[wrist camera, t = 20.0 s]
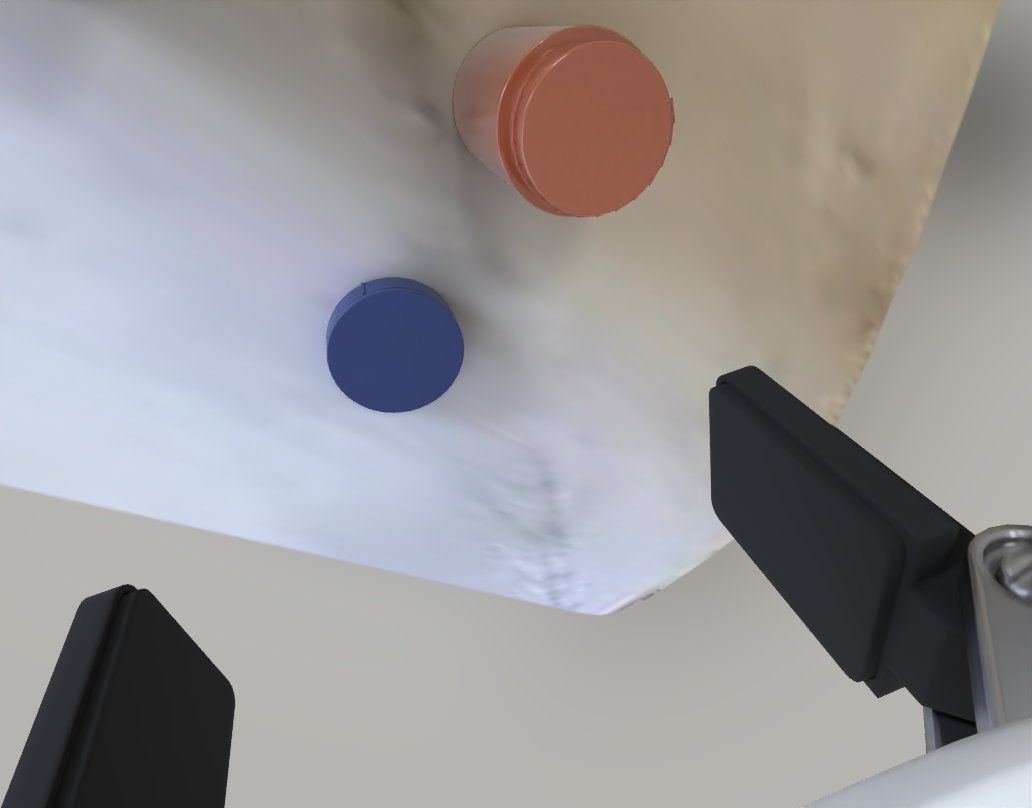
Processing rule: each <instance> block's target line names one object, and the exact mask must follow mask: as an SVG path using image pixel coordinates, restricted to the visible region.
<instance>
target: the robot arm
mask: <svg viewBox="0 0 1032 808" xmlns="http://www.w3.org/2000/svg"><path fill="white" fill-rule="evenodd" d="M709 419H710V463H711V500H712V505H713V509H714V511H715V513H716V515H717V517H718V518H719V520H720V521H721V522H722V524H723V525H724V526H725V527H726V529H727V530H728V531H729V532H730V533H731V535H732V536H733V537H734V538H735V540H736V541H737V542H738V543H739V544H740V545H741V547H742V548H743V549H744V550H745V552H746V553H747V554H748V555H749V557H750V558H751V559H752V560H753V561H754V563H755V564H756V565H757V566H758V568H759V569H760V570H761V571H762V572H763V574H764V575H765V576H766V577H767V579H768V580H769V581H770V582H771V583H772V585H773V586H774V587H775V588H776V590H777V591H778V592H779V593H780V594H781V596H782V597H783V598H784V599H785V600H786V602H787V603H788V604H789V605H790V607H791V608H792V609H793V610H794V611H795V613H796V614H797V615H798V616H799V618H800V619H801V620H802V621H803V622H804V624H805V625H806V626H807V627H808V628H809V630H810V631H811V632H812V633H813V635H814V636H815V637H816V638H817V640H818V641H819V642H820V643H821V645H822V646H823V647H824V648H825V649H826V651H827V652H828V653H829V654H830V656H831V657H832V658H833V659H834V660H835V662H836V663H837V664H838V665H839V667H840V668H841V669H842V670H843V671H844V672H845V674H846V675H847V676H848V677H849V678H851V679H852V680H853V681H856V682H861V681H864V682H865V684H866V685H867V686H868V687H869V688H870V690H871V691H872V692H873V693H874V694H875V695H876V697H877V698H880V697H882V696H884V695H887V694H889V693H891V692H894V691H896V690H898V689H901V688H903V687H906V689H908V691H909V692H910V693H911V694H912V695H913V696H914V697H915V699H916V700H917V701H918V702H919V703H920V704H921V705H922V706H923V711H924V725H925V739H926V753H927V754H924V755H922V756H920V757H917V758H915V759H912V760H910V761H908V762H905V763H903V764H901V765H898V766H896V767H893V768H891V769H889V770H886V771H884V772H882V773H879V774H877V775H874V776H872V777H870V778H867V779H865V780H862V781H860V782H858V783H856V784H853V785H851V786H848V787H846V788H844V789H842V790H839V791H837V792H835V793H833V794H830V795H828V796H826V797H823V798H821V799H819V800H817V801H814V802H812V803H810V804H808V805H805V806H803V807H801V808H1032V526H1028V525H1008V524H1007V525H1002V526H996V527H990V528H988V529H986V530H984V531H982V532H980V533H979V534H977V535H974V534H973V533H972V532H970V531H969V530H968V529H967V528H965V527H964V526H963V525H961V524H960V523H959V522H957V521H956V520H955V519H954V518H952V517H951V516H950V515H949V514H947V513H946V512H945V511H943V510H942V509H941V508H939V507H938V506H937V505H936V504H934V503H933V502H932V501H930V500H929V499H928V498H927V497H925V496H924V495H923V494H921V493H920V492H919V491H918V490H916V489H915V488H914V487H913V486H911V485H910V484H909V483H907V482H906V481H905V480H903V479H902V478H901V477H900V476H898V475H897V474H896V473H894V472H893V471H892V470H891V469H889V468H888V467H887V466H886V465H884V464H883V463H882V462H880V461H879V460H878V459H876V458H875V457H874V456H873V455H871V454H870V453H869V452H867V451H866V450H865V449H864V448H862V447H861V446H859V445H858V444H857V443H856V442H855V441H853V440H852V439H851V438H849V437H848V436H847V435H846V434H844V433H843V432H842V431H840V430H839V429H838V428H836V427H834V426H833V425H831V424H829V423H828V422H827V421H825V420H824V419H823V418H821V417H820V416H819V415H818V414H816V413H815V412H814V411H812V410H811V409H810V408H809V407H807V406H806V405H805V404H804V403H802V402H801V401H800V400H798V399H797V398H796V397H795V396H793V395H792V394H791V393H789V392H788V391H787V390H786V389H784V388H783V387H782V386H780V385H779V384H778V383H777V382H775V381H774V380H773V379H772V378H770V377H769V376H768V375H766V374H765V373H764V372H763V371H761V370H760V369H759V368H757V367H755V366H747V367H744V368H741V369H739V370H736V371H733V372H730V373H727V374H724V375H721V376H720V377H718V379H717V381H716V387H713V388H711V389H710V392H709ZM234 710H235V697H234V692H233V688H232V686H231V684H230V682H229V681H228V680H227V678H226V677H225V676H224V675H223V674H222V673H221V672H220V670H219V669H218V668H217V667H216V666H215V665H214V664H213V663H212V661H211V660H210V659H209V658H208V657H207V656H206V655H205V653H204V652H203V651H202V650H201V649H200V648H199V647H198V645H197V644H196V643H195V642H194V641H193V640H192V639H191V637H190V636H189V635H188V634H187V633H186V632H185V631H184V629H183V628H182V627H181V626H180V625H179V624H178V623H177V621H176V620H175V619H174V618H173V617H172V616H171V615H170V614H169V612H168V611H167V610H166V609H165V608H164V607H163V605H162V604H161V603H160V602H159V601H158V600H157V599H156V597H155V596H154V595H153V594H152V593H151V592H150V591H149V590H147V589H140V590H137V589H136V588H135V587H134V586H132V585H129V584H127V585H122V586H119V587H116V588H113V589H111V590H108V591H105V592H102V593H99V594H96V595H93V596H91V597H88V598H86V599H84V600H83V601H82V602H81V604H80V605H79V607H78V610H77V612H76V615H75V618H74V620H73V623H72V625H71V628H70V630H69V633H68V635H67V638H66V641H65V643H64V646H63V648H62V651H61V654H60V657H59V659H58V662H57V664H56V666H55V669H54V672H53V674H52V677H51V679H50V682H49V685H48V687H47V690H46V692H45V695H44V698H43V700H42V703H41V705H40V708H39V710H38V713H37V716H36V718H35V721H34V724H33V726H32V729H31V731H30V734H29V737H28V739H27V742H26V744H25V747H24V749H23V752H22V755H21V757H20V760H19V762H18V765H17V767H16V770H15V773H14V775H13V778H12V780H11V783H10V786H9V789H8V791H7V794H6V796H5V799H4V801H3V804H2V807H1V808H224V806H225V797H226V787H227V778H228V768H229V758H230V748H231V739H232V730H233V719H234Z"/></svg>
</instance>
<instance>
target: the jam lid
mask: <svg viewBox="0 0 1032 808" xmlns="http://www.w3.org/2000/svg"><path fill="white" fill-rule="evenodd" d="M326 339H327V362H328V366H329V370H330V372H331V375H332V377H333V379H334V381H335V383H336V384H337V386H338V387H339V388H340V389H341V391H342V392H343V393H344V394H345V395H346V396H348V397H349V398H350V399H352V400H353V401H354V402H356V403H358V404H360V405H362V406H364V407H366V408H369V409H372V410H376V411H381V412H391V413H396V412H406V411H411V410H415V409H418V408H421V407H423V406H426V405H428V404H429V403H431V402H433V401H435V400H436V399H437V398H439V397H440V396H441V395H442V394H443V393H445V392H446V391H447V390H448V388H449V387H450V386H451V385H452V383H453V382H454V381H455V379H456V377H457V375H458V373H459V371H460V368H461V365H462V361H463V356H464V344H463V338H462V333H461V331H460V328H459V326H458V324H457V321H456V319H455V317H454V315H453V313H452V311H451V309H450V308H449V306H448V304H447V303H446V302H445V301H444V299H443V298H442V297H441V296H440V295H439V294H438V293H436V292H435V291H434V290H432V289H431V288H429V287H427V286H426V285H424V284H421V283H419V282H416V281H413V280H409V279H404V278H383V279H377V280H373V281H370V282H368V283H365V284H363V283H361V286H359V287H357V288H355V289H354V290H352V291H351V292H350V293H348V294H347V295H346V296H345V297H344V298H343V299H342V300H341V301H340V303H339V304H338V305H337V306H336V308H335V310H334V311H333V313H332V315H331V318H330V320H329V324H328V328H327V337H326Z"/></svg>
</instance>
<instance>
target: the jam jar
mask: <svg viewBox="0 0 1032 808" xmlns="http://www.w3.org/2000/svg"><path fill="white" fill-rule="evenodd" d="M453 112H454V118H455V123H456V127H457V130H458V133H459V135H460V137H461V139H462V141H463V143H464V144H465V146H466V148H467V149H468V150H469V152H470V153H471V154H472V155H473V156H474V157H475V158H476V159H477V160H478V161H479V162H480V163H481V164H483V165H484V166H485V167H486V168H488V169H489V170H490V171H491V172H492V173H494V174H495V175H496V176H497V177H499V178H500V179H501V180H502V181H503V182H505V183H506V184H507V185H508V186H509V187H511V188H512V189H513V190H514V191H516V192H517V193H518V194H519V195H520V196H522V197H523V198H524V199H525V200H527V201H528V202H529V203H531V204H532V205H534V206H535V207H537V208H539V209H541V210H543V211H545V212H548V213H551V214H554V215H559V216H570V217H575V216H576V217H591V216H596V217H598V216H601V215H604V214H606V213H610V212H612V211H617V210H618V209H620V208H621V207H623V206H625V205H627V204H628V203H629V202H631V201H632V200H635V199H636V198H637V197H638V196H639V194H641V193H642V192H643V191H644V190H645V188H646V187H647V186H648V185H650V184H651V182H652V181H653V179H654V177H655V175H656V174H657V172H658V170H659V169H660V167H662V166H663V163H664V160H665V157H666V154H667V151H668V148H669V145H671V140H672V131H673V123H675V118H674V108H673V98H669V94H668V90H667V88H666V85H665V83H664V80H663V78H662V77H661V75H660V73H659V71H658V70H657V68H656V67H655V66H654V65H653V63H652V62H651V61H650V60H649V59H648V58H647V57H646V56H645V55H644V54H642V53H641V52H640V50H639V49H638V48H637V47H636V46H635V45H634V44H633V43H632V42H631V41H629V40H628V39H626V38H625V37H624V36H622V35H621V34H618V33H616V32H614V31H612V30H610V29H607V28H603V27H599V26H591V25H570V26H519V27H509V28H504V29H501V30H498V31H496V32H493V33H492V34H490V35H488V36H486V37H485V38H484V39H482V40H481V41H480V42H479V43H478V44H477V45H476V46H475V47H474V48H473V49H472V50H471V51H470V53H469V54H468V55H467V57H466V58H465V60H464V62H463V64H462V65H461V68H460V70H459V72H458V75H457V78H456V82H455V87H454V93H453Z"/></svg>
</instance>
